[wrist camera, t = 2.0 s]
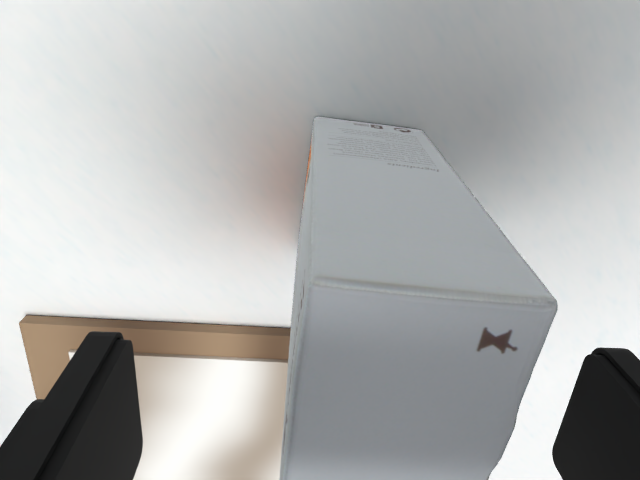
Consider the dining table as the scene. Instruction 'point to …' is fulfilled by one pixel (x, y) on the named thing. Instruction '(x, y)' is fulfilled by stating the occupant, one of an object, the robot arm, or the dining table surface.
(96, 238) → the dining table surface
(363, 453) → the skincare box
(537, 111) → the dining table surface
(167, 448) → the clipboard
